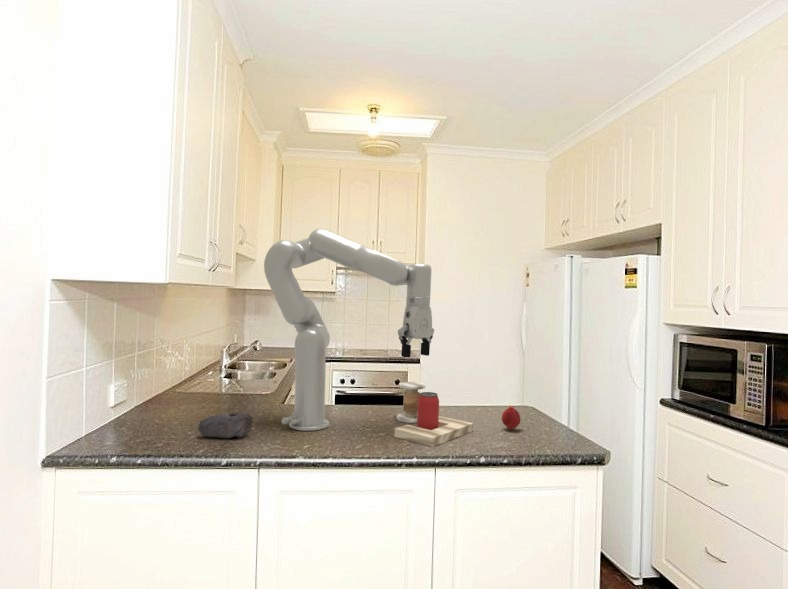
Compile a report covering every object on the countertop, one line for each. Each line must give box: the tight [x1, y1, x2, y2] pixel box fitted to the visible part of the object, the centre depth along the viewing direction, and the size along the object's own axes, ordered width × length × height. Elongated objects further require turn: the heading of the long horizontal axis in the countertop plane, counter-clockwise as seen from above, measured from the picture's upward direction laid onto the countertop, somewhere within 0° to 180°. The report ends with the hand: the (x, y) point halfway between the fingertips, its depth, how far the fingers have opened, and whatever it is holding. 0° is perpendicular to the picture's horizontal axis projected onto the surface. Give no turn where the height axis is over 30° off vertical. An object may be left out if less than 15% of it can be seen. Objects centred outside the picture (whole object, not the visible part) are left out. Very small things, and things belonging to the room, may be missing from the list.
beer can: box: [416, 391, 440, 430], centre depth 150 cm, size 7×7×12 cm
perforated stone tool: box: [197, 412, 253, 439], centre depth 139 cm, size 15×5×7 cm, turn 91°
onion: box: [501, 404, 521, 431], centre depth 155 cm, size 6×6×8 cm
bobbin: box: [396, 381, 426, 424], centre depth 165 cm, size 10×10×12 cm
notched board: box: [394, 415, 474, 448], centre depth 148 cm, size 22×14×2 cm, turn 140°
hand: (415, 356), depth 154 cm, fingers open, 9 cm apart
